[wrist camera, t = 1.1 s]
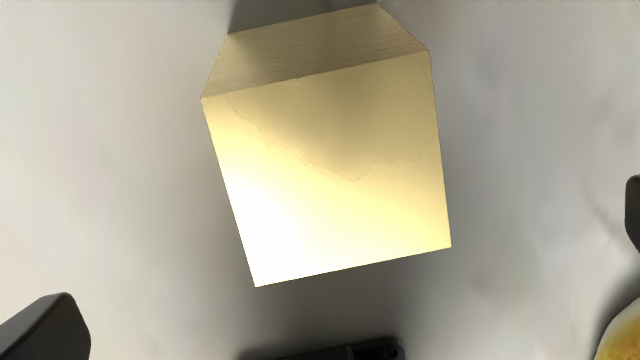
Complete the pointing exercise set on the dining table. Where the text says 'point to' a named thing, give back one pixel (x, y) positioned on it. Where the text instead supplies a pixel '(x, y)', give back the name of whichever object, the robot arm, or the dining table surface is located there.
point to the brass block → (328, 143)
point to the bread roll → (622, 336)
